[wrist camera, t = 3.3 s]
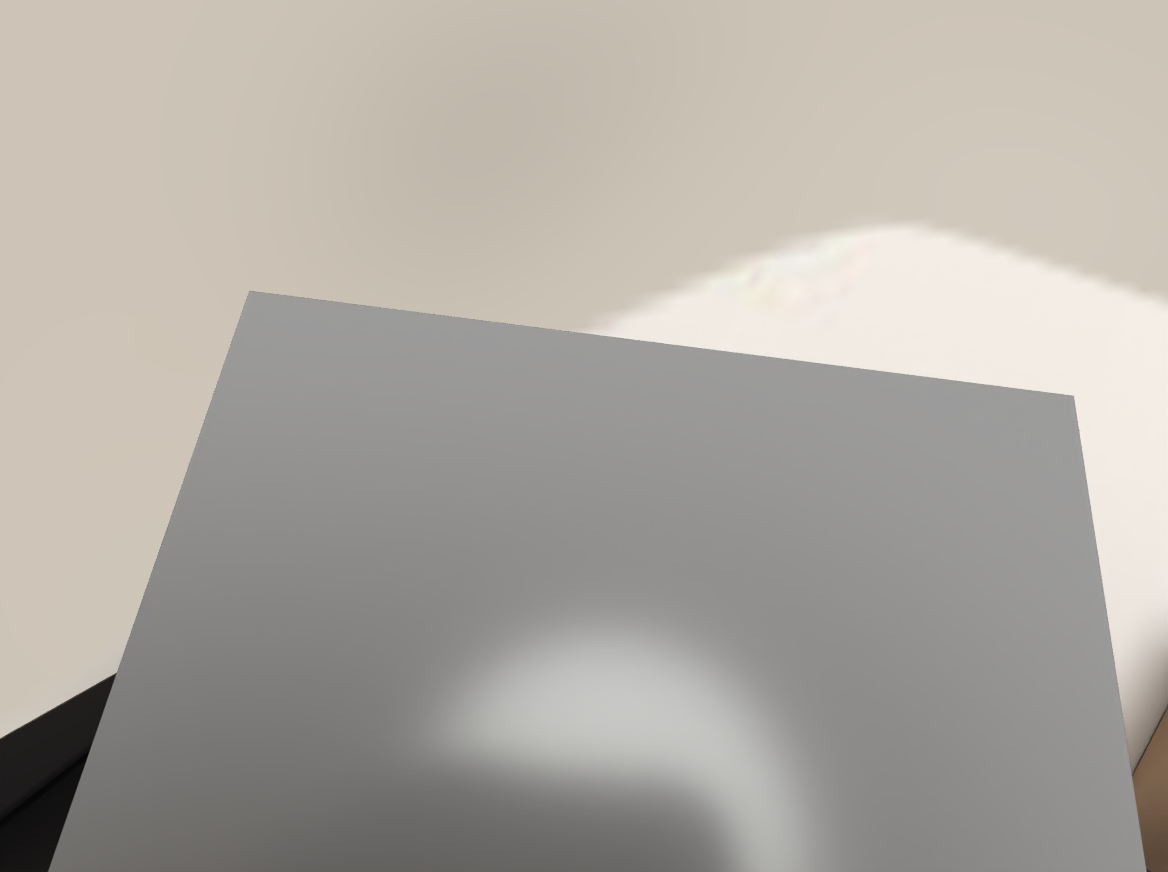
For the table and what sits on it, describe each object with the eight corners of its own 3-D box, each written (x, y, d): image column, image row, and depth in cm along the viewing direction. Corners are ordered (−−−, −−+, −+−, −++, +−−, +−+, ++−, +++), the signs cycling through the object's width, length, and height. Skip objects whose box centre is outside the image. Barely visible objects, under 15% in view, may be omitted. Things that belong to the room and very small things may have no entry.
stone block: (678, 855, 14) (1280, 1742, 2) (427, 822, 14) (-188, 1554, 2) (693, 597, 16) (1074, 395, 4) (472, 569, 16) (248, 289, 4)
